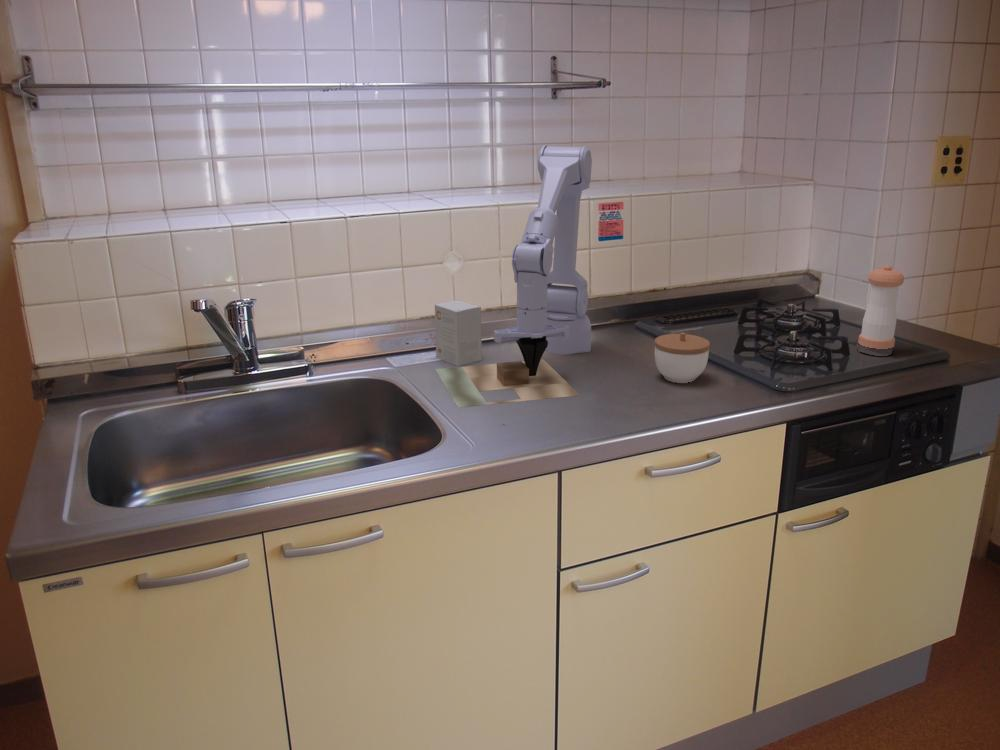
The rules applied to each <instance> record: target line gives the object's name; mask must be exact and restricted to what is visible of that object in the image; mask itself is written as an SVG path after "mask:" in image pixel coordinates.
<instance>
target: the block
mask: <svg viewBox="0 0 1000 750" xmlns="http://www.w3.org/2000/svg"><path fill="white" fill-rule="evenodd" d="M522 361H523V360H520V361H519V360H517V361H506V362H497V363H496V364H497V378H498V380H499V381H500V382H501V383H502V385H503V386H510V385H521V384H529V368H528V367H527V366H526V365H525V363H523V362H522Z"/></svg>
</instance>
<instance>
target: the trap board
mask: <svg viewBox="0 0 1000 750" xmlns="http://www.w3.org/2000/svg"><path fill="white" fill-rule="evenodd" d="M521 361H522V362H523V363H524V364H525V362H524V360H521ZM434 370H435V372H436V374H437V375H438V377H439V379H440V380H441V382H442V384H443V385H444V388H446V391H447V392H448V393H449V395H450V397H451V398H452V400H453V402H454V403H455V405H456V407H457V408H458V409H460V408H471V407H480V406H490V405H497V404H508V403H519V402H531V401H535V400H536V401H538V400H548V399H549V400H550V399H555V398H556V399H557V398H567V397H578V396H579V397H580V396H581V395H580V394H579V393H578V391H577V390H576V389H575V388H573V387H572V386H571V385H570V383H568V382H567V380H565V379H564V377H562V376H561V375H560V374H559V373H558V372H557V371H556V370H555V369H554V368H553V366H551V365H550V364H549V363H548V362H547V361H545V359H541V360H540V362H539V365H538V369H537V373H536V376H529V384H521V385H510V386H503V385H502V383H501V382H500V381H499V380H498V378H497V363H488V364H487V363H486V364H479V365H467V366H466V365H463V366H454V367H453V366H452V367H444V368H434ZM510 389H512V390H513V391H514V392H515V393H516V394H517V396H518V397H519V398H518V399H517V398H516V399H509V400H507V399H506V400H501V401H489V402H487V401H486V400H485V398H484V396H483V395H482V394H481V392H489V391H490V392H491V391H499V390H510Z"/></svg>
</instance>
